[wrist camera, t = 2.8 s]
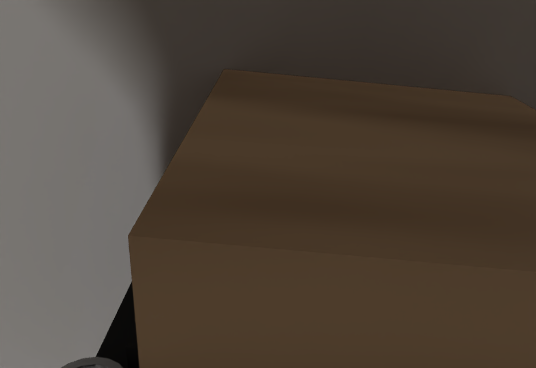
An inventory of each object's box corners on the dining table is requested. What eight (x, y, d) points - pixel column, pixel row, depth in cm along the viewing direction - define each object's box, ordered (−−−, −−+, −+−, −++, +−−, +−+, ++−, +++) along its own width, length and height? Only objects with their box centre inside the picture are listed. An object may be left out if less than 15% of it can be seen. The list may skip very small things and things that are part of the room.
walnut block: (406, 380, 13) (494, 673, 7) (213, 364, 13) (163, 649, 7) (510, 95, 9) (880, 302, 3) (224, 68, 9) (128, 235, 3)
